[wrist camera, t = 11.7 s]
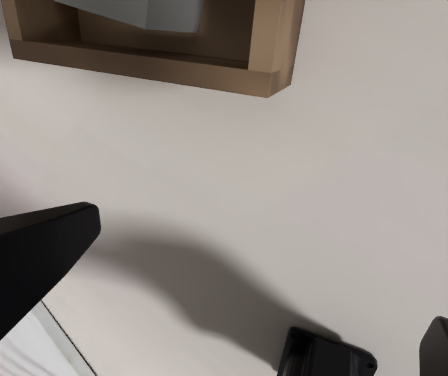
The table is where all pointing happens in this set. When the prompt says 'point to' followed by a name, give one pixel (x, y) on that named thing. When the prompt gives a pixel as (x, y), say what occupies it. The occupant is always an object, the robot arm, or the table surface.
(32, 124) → the table surface
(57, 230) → the robot arm
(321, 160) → the table surface
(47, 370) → the file sorter
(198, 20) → the dice cube
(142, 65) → the open wooden box
